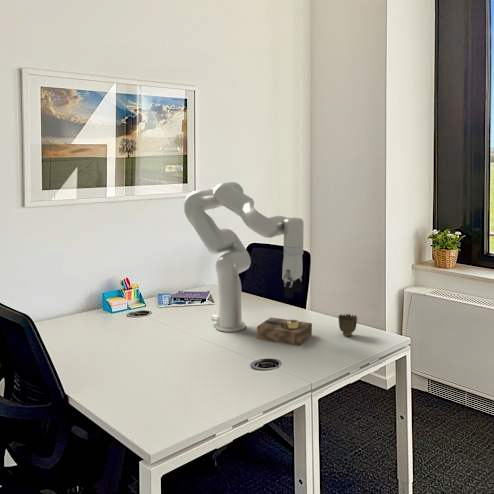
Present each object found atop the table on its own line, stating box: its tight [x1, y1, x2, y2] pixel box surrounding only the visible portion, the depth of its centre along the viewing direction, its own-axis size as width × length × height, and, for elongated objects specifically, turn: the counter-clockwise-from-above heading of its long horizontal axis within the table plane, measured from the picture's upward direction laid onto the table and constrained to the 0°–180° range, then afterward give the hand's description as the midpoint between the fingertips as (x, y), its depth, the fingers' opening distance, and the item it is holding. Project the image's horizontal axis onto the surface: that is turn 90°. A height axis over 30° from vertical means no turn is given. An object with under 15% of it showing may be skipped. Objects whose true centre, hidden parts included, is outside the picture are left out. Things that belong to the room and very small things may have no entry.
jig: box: [256, 317, 313, 346], centre depth 222 cm, size 18×13×6 cm
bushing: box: [287, 319, 299, 328], centre depth 220 cm, size 4×4×7 cm
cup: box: [337, 313, 358, 338], centre depth 222 cm, size 8×7×8 cm
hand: (293, 294), depth 218 cm, fingers open, 8 cm apart
